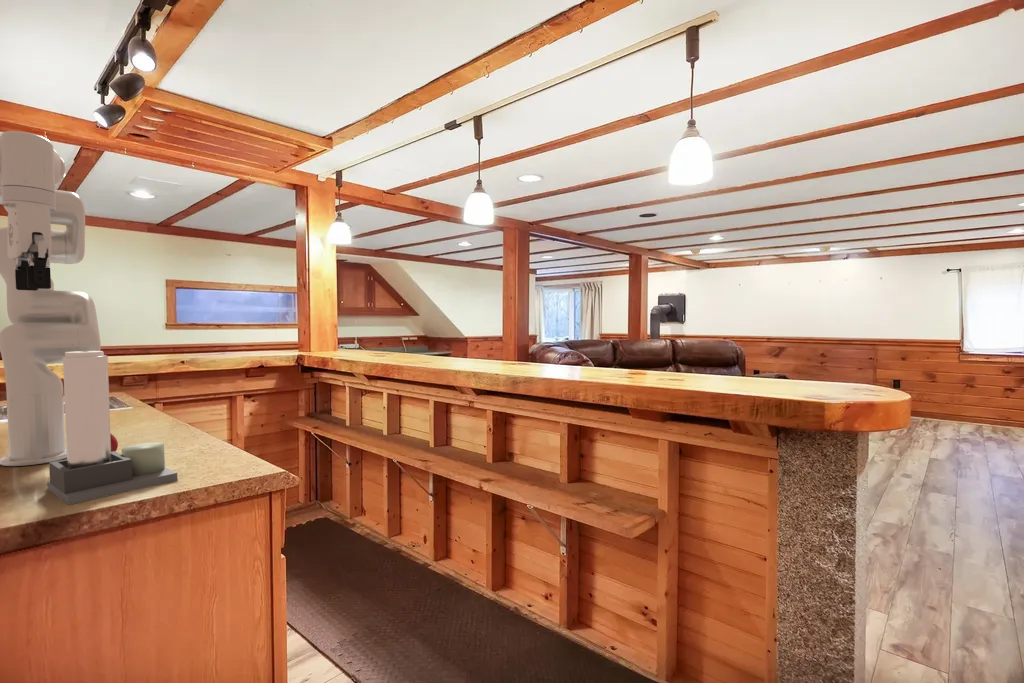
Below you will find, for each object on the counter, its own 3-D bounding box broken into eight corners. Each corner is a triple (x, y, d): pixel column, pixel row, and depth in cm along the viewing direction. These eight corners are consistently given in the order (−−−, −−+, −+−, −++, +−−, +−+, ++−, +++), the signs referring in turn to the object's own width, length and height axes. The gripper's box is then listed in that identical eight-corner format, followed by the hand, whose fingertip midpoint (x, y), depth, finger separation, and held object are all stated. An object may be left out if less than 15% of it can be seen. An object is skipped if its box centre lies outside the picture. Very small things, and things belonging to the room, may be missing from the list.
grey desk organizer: (47, 488, 97) (46, 455, 96) (151, 467, 110) (150, 438, 110) (68, 504, 88) (66, 468, 88) (177, 480, 102) (176, 448, 102)
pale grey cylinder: (92, 486, 93) (87, 352, 92) (58, 486, 93) (52, 352, 92) (120, 475, 100) (116, 349, 99) (88, 475, 100) (83, 349, 99)
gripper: (-7, 202, 99) (-3, 290, 100) (12, 189, 89) (16, 286, 90) (44, 209, 105) (47, 291, 106) (67, 197, 95) (70, 288, 96)
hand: (33, 289), depth 98 cm, fingers open, 9 cm apart
